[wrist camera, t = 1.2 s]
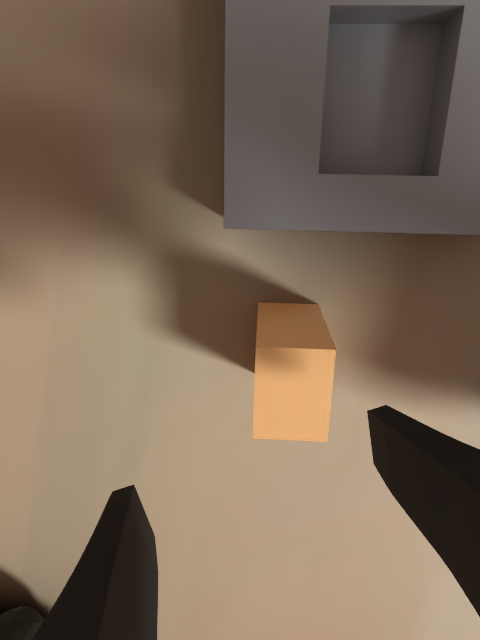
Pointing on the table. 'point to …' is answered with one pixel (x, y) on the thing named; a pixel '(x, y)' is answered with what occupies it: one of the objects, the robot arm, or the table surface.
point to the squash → (19, 623)
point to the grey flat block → (352, 115)
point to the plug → (292, 373)
